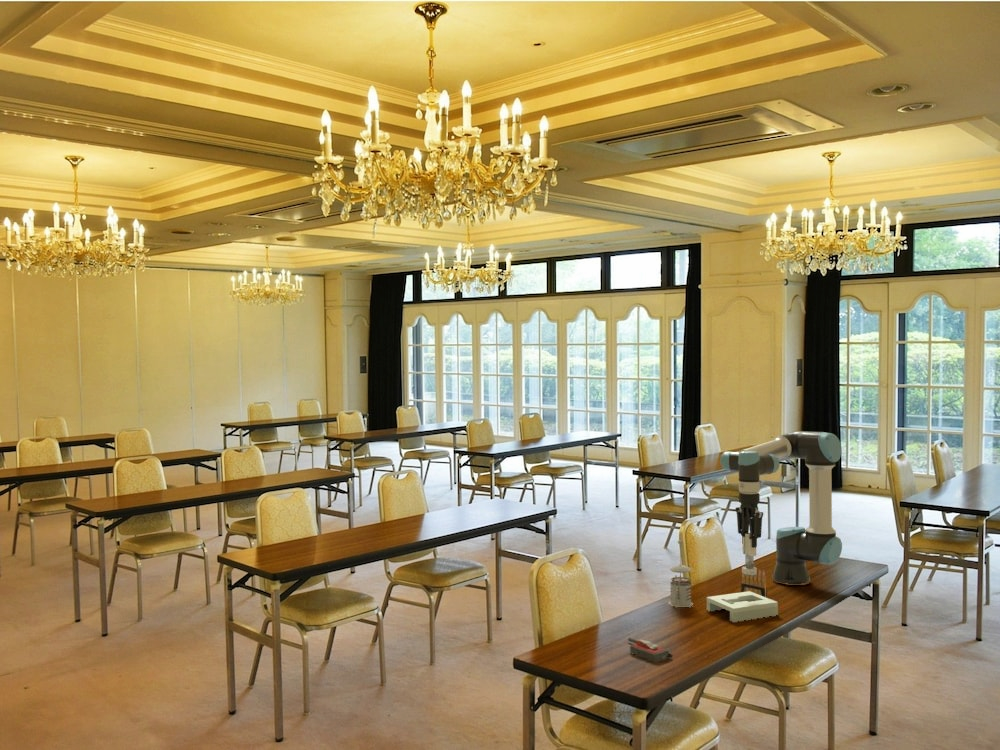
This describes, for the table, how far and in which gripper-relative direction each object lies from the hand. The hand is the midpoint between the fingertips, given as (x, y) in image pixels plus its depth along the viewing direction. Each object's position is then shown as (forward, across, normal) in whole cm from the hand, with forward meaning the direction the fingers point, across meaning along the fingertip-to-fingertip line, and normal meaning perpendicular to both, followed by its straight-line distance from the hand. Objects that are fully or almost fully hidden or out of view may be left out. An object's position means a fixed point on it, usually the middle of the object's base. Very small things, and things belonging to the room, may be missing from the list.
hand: (749, 554), depth 307 cm
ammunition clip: (+22, -14, +13) cm, 29 cm away
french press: (+22, -18, -19) cm, 34 cm away
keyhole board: (+22, 0, -4) cm, 22 cm away
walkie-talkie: (+22, +22, -59) cm, 67 cm away
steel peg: (+7, 0, 0) cm, 7 cm away
